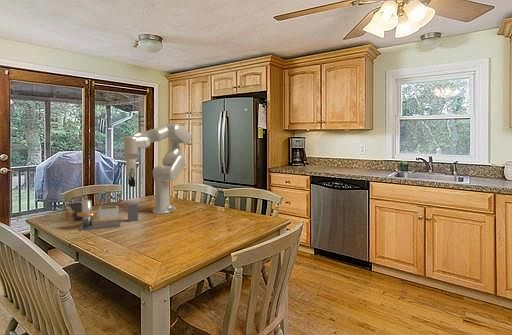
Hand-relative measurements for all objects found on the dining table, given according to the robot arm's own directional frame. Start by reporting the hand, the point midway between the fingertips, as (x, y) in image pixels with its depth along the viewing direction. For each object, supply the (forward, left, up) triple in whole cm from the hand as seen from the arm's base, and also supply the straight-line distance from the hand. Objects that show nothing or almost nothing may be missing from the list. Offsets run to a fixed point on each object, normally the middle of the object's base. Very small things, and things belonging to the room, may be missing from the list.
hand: (131, 185), depth 187 cm
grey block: (0, 0, -22) cm, 22 cm away
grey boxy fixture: (+14, +12, -22) cm, 28 cm away
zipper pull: (+38, -9, -22) cm, 45 cm away
